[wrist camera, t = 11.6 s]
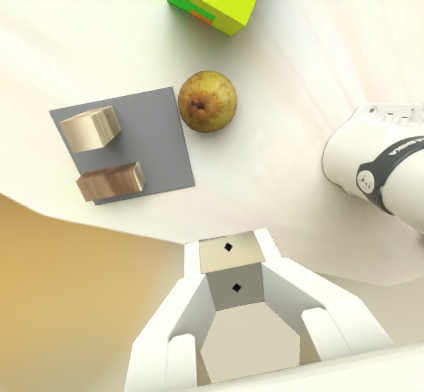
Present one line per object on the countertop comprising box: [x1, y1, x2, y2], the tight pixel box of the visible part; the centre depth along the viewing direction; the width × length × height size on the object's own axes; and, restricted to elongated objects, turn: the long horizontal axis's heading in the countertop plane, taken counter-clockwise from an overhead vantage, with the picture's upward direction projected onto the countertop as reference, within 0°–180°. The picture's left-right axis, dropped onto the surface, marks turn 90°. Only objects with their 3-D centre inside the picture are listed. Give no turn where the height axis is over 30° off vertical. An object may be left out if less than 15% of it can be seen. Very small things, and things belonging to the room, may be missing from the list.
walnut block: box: [76, 162, 145, 202], centre depth 41 cm, size 4×4×10 cm
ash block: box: [59, 106, 121, 153], centre depth 34 cm, size 4×4×10 cm
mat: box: [49, 87, 195, 205], centre depth 41 cm, size 20×18×1 cm
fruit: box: [178, 71, 237, 133], centre depth 34 cm, size 9×9×12 cm
